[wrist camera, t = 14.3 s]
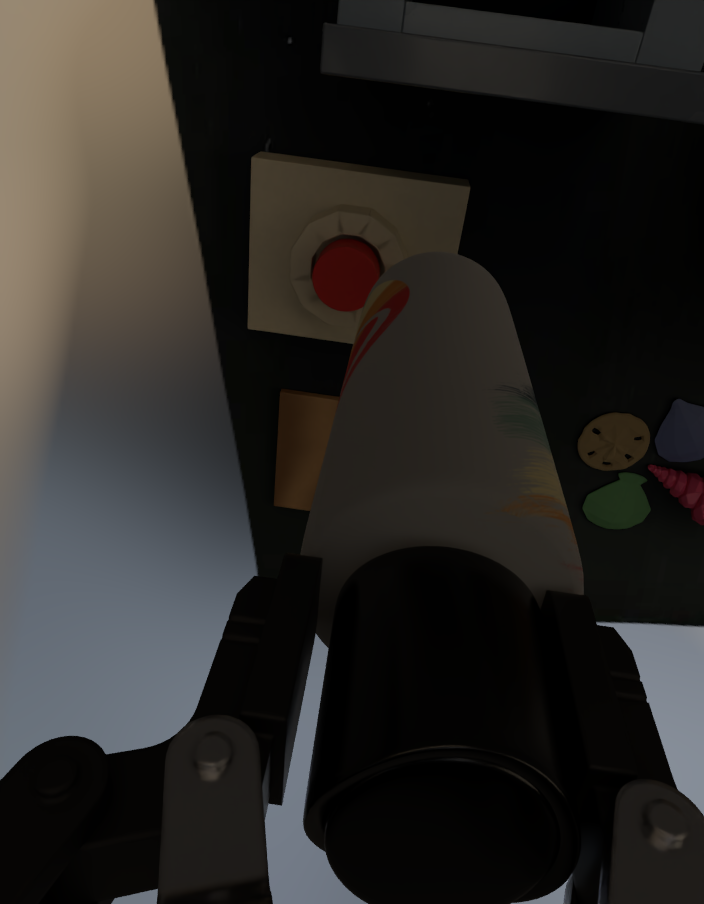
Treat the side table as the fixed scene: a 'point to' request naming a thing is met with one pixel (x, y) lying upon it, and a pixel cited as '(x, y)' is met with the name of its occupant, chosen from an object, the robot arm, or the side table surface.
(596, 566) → the side table surface
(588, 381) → the side table surface
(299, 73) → the side table surface
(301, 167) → the control box
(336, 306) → the button
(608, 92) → the dark grey square holder
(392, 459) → the spray bottle
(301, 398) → the coaster
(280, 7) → the side table surface
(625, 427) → the toy pieces
